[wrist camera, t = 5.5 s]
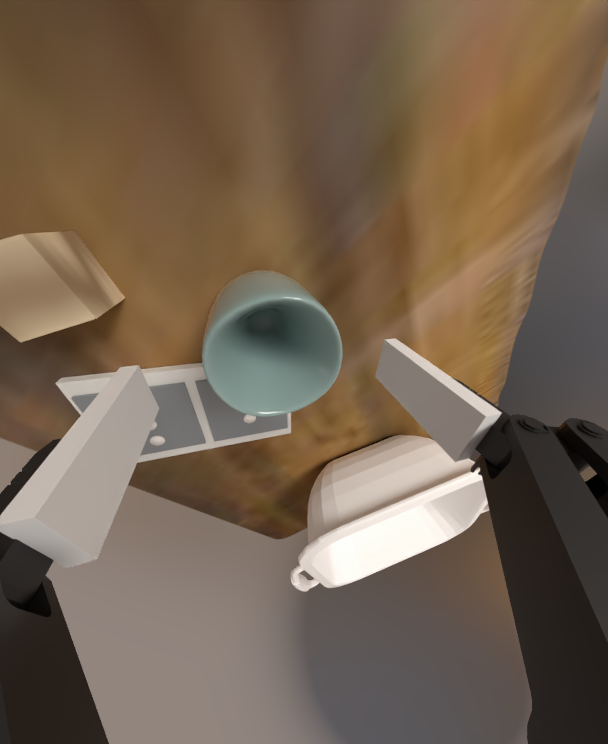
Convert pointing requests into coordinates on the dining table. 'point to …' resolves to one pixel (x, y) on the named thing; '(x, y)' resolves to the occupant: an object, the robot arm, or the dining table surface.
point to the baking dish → (385, 509)
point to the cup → (269, 345)
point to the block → (51, 284)
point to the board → (182, 411)
